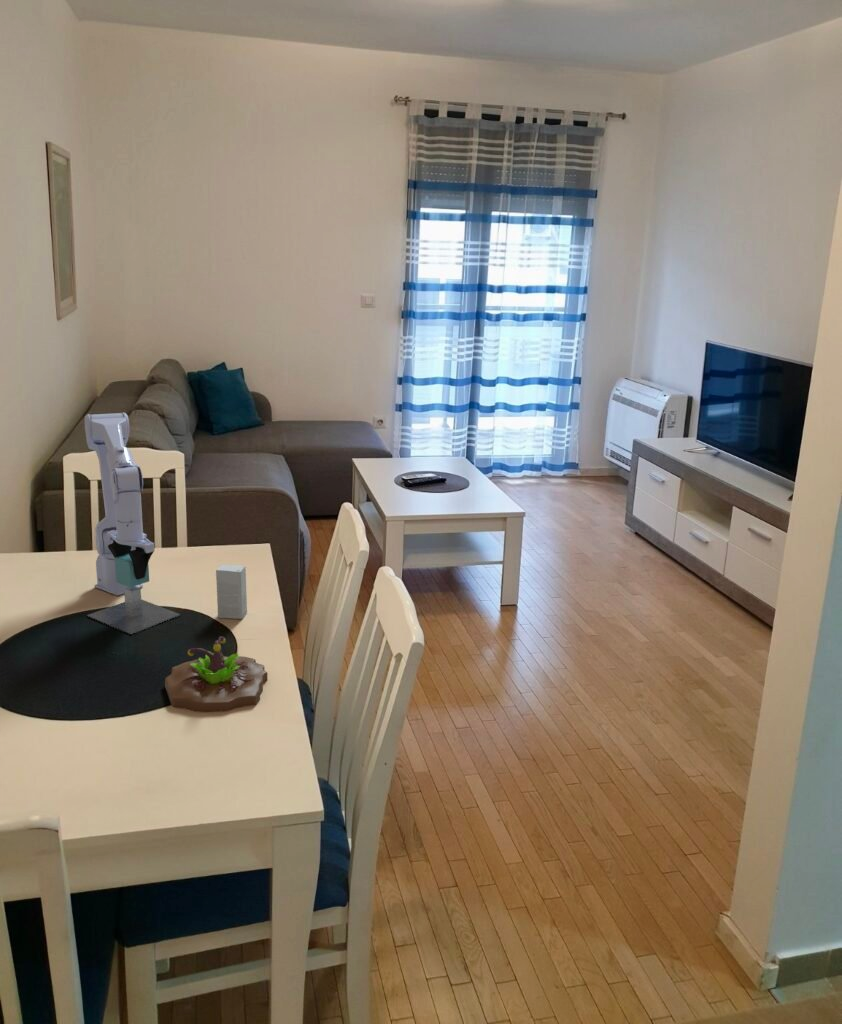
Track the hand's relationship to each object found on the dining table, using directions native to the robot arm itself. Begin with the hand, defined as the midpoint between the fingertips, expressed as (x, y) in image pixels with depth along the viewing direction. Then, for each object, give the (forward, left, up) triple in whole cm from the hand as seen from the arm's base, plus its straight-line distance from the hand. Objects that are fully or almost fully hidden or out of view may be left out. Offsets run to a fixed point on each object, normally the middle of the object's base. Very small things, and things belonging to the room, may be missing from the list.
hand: (132, 575), depth 207 cm
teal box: (0, 0, -2) cm, 2 cm away
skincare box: (+17, +15, -10) cm, 25 cm away
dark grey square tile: (0, 0, -10) cm, 10 cm away
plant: (+41, -12, -11) cm, 44 cm away
